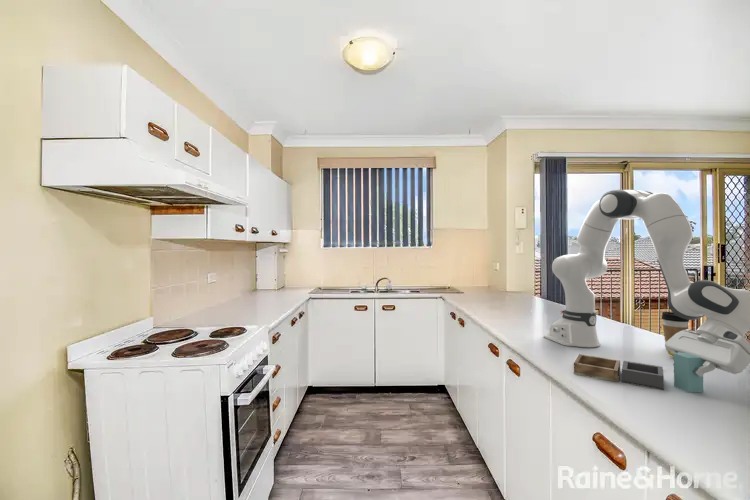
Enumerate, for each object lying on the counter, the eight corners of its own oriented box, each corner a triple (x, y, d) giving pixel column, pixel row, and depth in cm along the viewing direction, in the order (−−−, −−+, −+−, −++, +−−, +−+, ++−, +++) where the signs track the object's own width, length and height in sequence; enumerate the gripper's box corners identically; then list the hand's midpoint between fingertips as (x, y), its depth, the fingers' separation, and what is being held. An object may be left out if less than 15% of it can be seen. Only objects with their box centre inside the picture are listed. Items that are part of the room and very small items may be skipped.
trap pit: (621, 381, 107) (621, 369, 107) (623, 372, 114) (623, 360, 114) (663, 389, 100) (663, 376, 100) (662, 379, 108) (662, 366, 108)
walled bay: (573, 373, 114) (573, 363, 114) (579, 363, 123) (579, 354, 123) (617, 382, 106) (617, 370, 106) (620, 371, 116) (620, 360, 116)
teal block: (674, 386, 103) (673, 353, 103) (688, 385, 103) (687, 352, 103) (688, 392, 98) (688, 357, 98) (703, 391, 99) (702, 357, 99)
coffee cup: (660, 346, 143) (660, 310, 143) (687, 349, 138) (687, 312, 138) (663, 351, 136) (662, 313, 136) (691, 354, 131) (691, 315, 131)
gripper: (676, 321, 111) (648, 352, 111) (748, 338, 91) (714, 376, 90) (689, 335, 112) (661, 365, 111) (764, 354, 91) (730, 392, 91)
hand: (686, 370), depth 101 cm, fingers closed on teal block, 4 cm apart
